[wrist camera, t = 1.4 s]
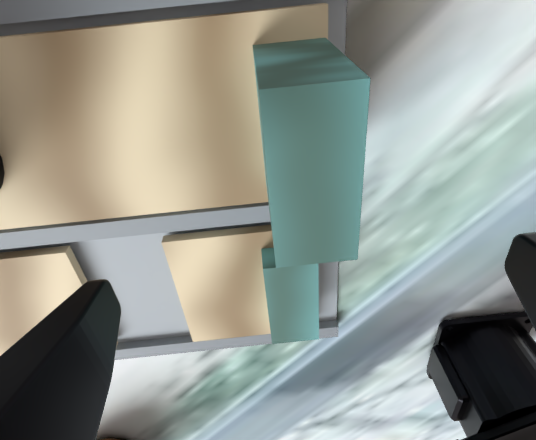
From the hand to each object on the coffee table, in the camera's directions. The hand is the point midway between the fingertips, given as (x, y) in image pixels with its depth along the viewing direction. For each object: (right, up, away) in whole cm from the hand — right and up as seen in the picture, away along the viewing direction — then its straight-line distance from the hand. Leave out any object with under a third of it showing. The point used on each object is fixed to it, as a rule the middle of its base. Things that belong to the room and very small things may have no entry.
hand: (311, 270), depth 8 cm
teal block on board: (-9, +5, +8) cm, 13 cm away
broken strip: (-9, -3, +14) cm, 17 cm away
